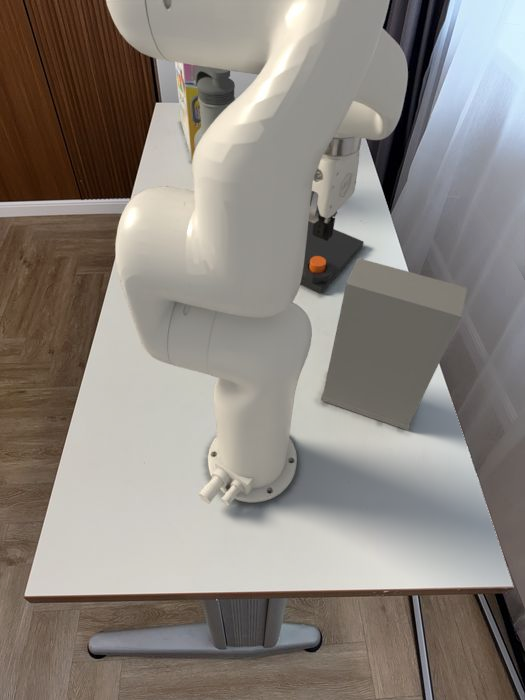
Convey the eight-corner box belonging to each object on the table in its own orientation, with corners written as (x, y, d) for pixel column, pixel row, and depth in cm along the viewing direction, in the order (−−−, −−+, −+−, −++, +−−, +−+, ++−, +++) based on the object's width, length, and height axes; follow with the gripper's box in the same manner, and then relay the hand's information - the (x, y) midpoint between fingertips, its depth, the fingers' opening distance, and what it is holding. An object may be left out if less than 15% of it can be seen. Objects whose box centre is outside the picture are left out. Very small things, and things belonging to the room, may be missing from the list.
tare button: (320, 275, 93) (321, 268, 92) (306, 269, 94) (307, 262, 93) (327, 267, 95) (329, 259, 94) (314, 260, 96) (315, 253, 95)
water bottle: (189, 195, 114) (176, 61, 92) (225, 181, 118) (220, 50, 96) (214, 217, 109) (207, 81, 87) (251, 202, 113) (252, 68, 91)
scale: (321, 294, 94) (323, 282, 92) (251, 261, 100) (251, 248, 97) (362, 247, 103) (365, 235, 101) (296, 219, 109) (297, 207, 106)
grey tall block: (415, 400, 80) (469, 283, 60) (407, 431, 76) (462, 317, 57) (331, 372, 83) (358, 253, 63) (320, 401, 79) (344, 283, 60)
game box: (213, 160, 123) (207, 36, 102) (191, 162, 122) (180, 38, 101) (200, 120, 136) (192, 3, 115) (180, 122, 135) (168, 4, 114)
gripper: (333, 168, 70) (319, 267, 84) (380, 124, 78) (360, 222, 92) (288, 151, 72) (281, 250, 87) (338, 110, 80) (324, 207, 95)
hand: (322, 235), depth 89 cm, fingers closed
